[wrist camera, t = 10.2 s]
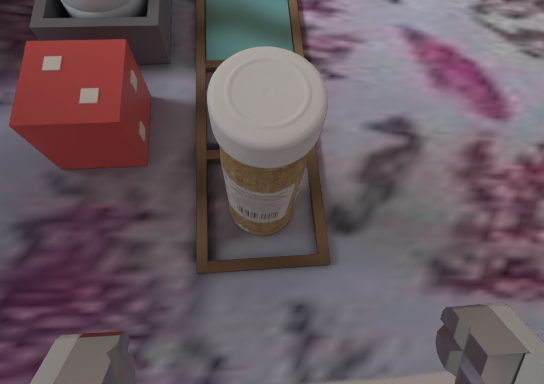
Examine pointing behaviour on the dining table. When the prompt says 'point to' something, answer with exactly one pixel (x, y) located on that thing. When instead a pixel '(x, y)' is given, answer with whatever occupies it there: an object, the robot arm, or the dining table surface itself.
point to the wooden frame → (209, 56)
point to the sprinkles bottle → (265, 131)
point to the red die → (83, 103)
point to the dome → (105, 8)
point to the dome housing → (109, 28)
